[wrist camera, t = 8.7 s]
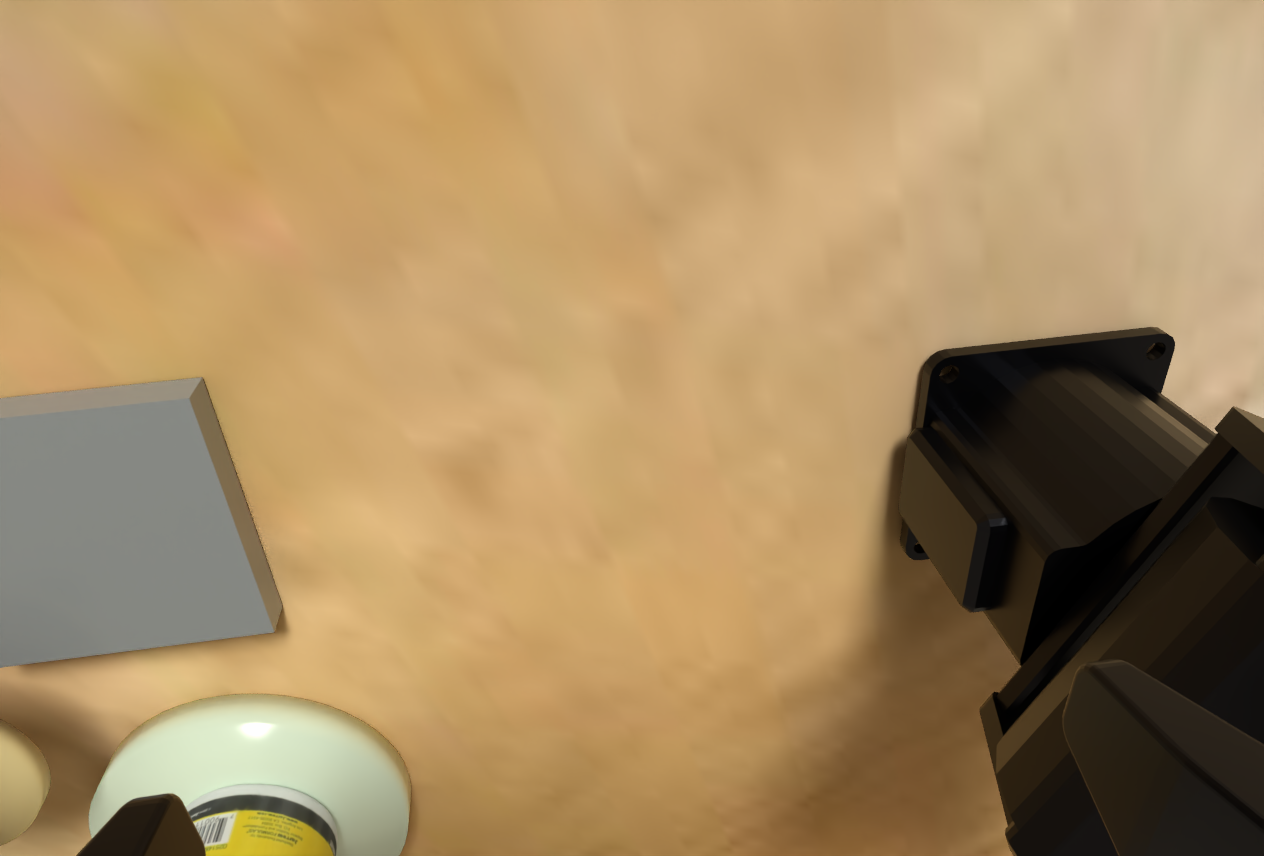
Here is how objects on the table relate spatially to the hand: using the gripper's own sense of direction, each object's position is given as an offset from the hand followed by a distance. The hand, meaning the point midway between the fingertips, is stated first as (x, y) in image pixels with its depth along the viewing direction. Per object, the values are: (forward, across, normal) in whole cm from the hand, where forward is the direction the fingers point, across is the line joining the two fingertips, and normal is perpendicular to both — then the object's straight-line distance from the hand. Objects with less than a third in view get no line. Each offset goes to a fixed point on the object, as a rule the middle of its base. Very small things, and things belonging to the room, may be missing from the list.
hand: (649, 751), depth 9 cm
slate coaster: (+13, +12, +5) cm, 18 cm away
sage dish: (+13, +11, +16) cm, 23 cm away
